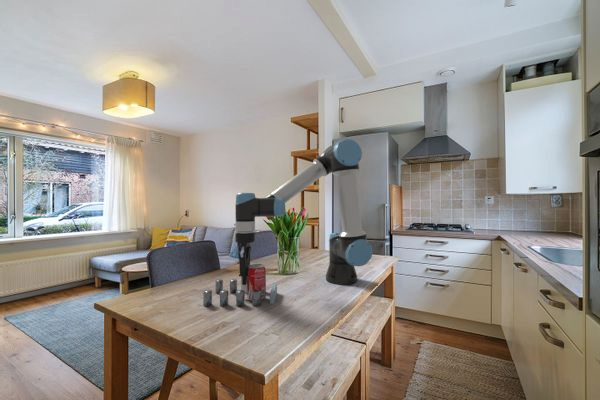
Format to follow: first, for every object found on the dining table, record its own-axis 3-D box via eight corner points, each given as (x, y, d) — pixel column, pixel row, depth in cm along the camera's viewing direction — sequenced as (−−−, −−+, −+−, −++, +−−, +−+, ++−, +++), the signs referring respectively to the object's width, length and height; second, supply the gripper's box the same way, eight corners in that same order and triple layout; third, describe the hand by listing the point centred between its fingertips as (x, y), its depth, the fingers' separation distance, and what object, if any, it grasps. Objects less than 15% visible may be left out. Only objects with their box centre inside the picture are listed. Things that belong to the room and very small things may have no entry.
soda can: (269, 297, 107) (269, 264, 107) (259, 303, 100) (259, 268, 100) (253, 294, 110) (253, 262, 110) (243, 300, 103) (243, 266, 103)
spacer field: (266, 291, 114) (266, 279, 114) (260, 306, 97) (260, 292, 97) (216, 291, 114) (216, 279, 114) (202, 306, 97) (202, 292, 97)
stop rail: (276, 293, 112) (276, 283, 112) (274, 304, 100) (274, 293, 100) (273, 293, 112) (273, 283, 112) (269, 304, 100) (270, 293, 100)
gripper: (239, 230, 113) (239, 286, 112) (231, 233, 100) (231, 297, 99) (257, 230, 113) (257, 286, 112) (251, 233, 100) (251, 298, 99)
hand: (244, 292), depth 106 cm, fingers closed
